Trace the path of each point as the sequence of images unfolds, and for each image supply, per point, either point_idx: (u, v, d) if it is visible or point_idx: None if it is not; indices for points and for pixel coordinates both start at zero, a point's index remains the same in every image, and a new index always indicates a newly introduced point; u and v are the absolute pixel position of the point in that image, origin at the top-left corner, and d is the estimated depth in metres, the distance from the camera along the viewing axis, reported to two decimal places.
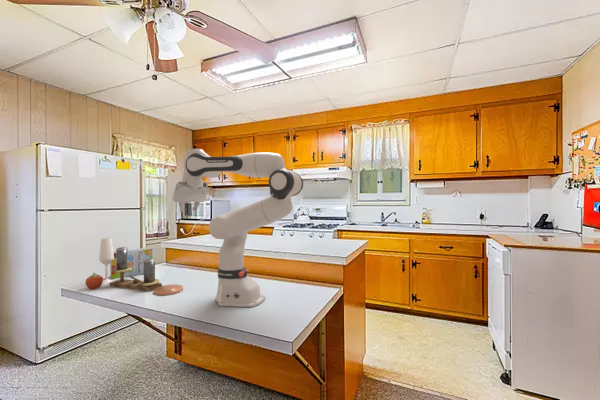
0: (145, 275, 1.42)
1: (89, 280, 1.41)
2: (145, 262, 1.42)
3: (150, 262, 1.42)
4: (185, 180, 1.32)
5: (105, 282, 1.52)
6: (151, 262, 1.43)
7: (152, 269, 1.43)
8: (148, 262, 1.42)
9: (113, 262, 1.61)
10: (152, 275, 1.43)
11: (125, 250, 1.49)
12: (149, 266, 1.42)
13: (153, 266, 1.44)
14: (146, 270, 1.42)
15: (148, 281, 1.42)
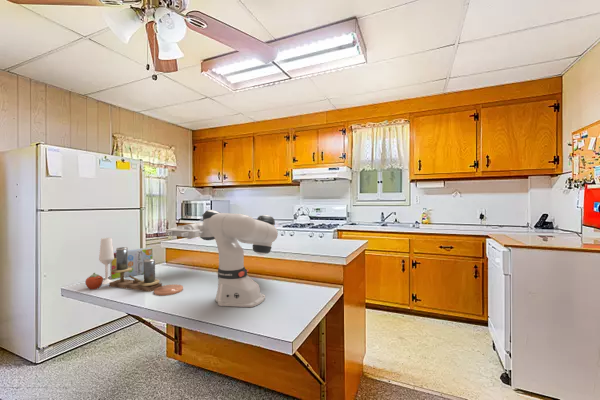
0: (145, 275, 1.42)
1: (89, 280, 1.41)
2: (145, 262, 1.42)
3: (150, 262, 1.42)
4: None
5: (105, 282, 1.52)
6: (151, 262, 1.43)
7: (152, 269, 1.43)
8: (148, 262, 1.42)
9: (113, 262, 1.61)
10: (152, 275, 1.43)
11: (125, 250, 1.49)
12: (149, 266, 1.42)
13: (153, 266, 1.44)
14: (146, 270, 1.42)
15: (148, 281, 1.42)
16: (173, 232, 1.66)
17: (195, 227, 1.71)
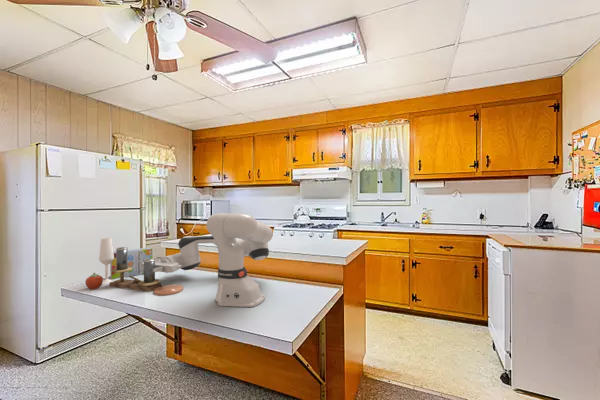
0: (145, 275, 1.42)
1: (89, 280, 1.41)
2: (145, 262, 1.42)
3: (150, 262, 1.42)
4: None
5: (105, 282, 1.52)
6: (151, 262, 1.43)
7: None
8: (148, 262, 1.42)
9: (113, 262, 1.61)
10: (152, 275, 1.43)
11: (125, 250, 1.49)
12: (149, 266, 1.42)
13: (153, 266, 1.44)
14: (146, 270, 1.42)
15: (148, 281, 1.42)
16: None
17: (173, 260, 1.56)
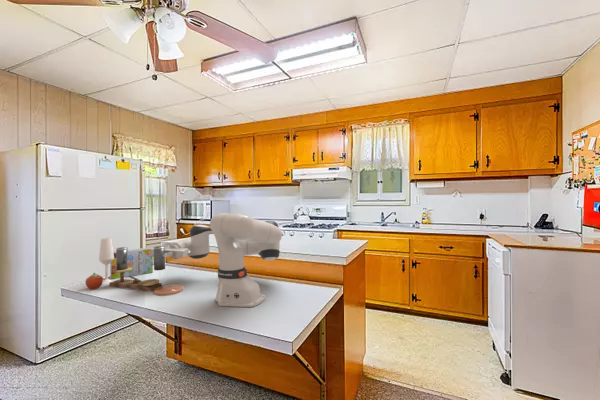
0: (155, 262, 1.40)
1: (89, 280, 1.41)
2: (155, 249, 1.39)
3: (160, 249, 1.40)
4: None
5: (105, 282, 1.52)
6: (161, 249, 1.40)
7: None
8: (158, 249, 1.40)
9: (113, 262, 1.61)
10: (162, 262, 1.41)
11: (125, 250, 1.49)
12: (159, 253, 1.40)
13: (163, 253, 1.41)
14: (156, 258, 1.39)
15: (158, 268, 1.40)
16: None
17: (182, 245, 1.53)
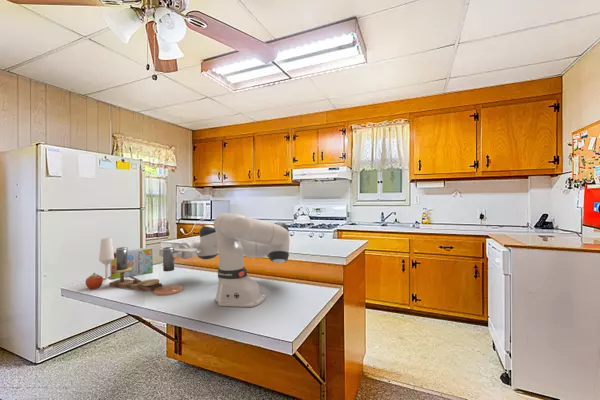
0: (165, 263, 1.38)
1: (89, 280, 1.41)
2: (165, 250, 1.38)
3: (170, 250, 1.39)
4: None
5: (105, 282, 1.52)
6: (171, 250, 1.39)
7: (172, 257, 1.40)
8: (168, 250, 1.38)
9: (113, 262, 1.61)
10: (172, 263, 1.40)
11: (125, 250, 1.49)
12: (169, 254, 1.38)
13: None
14: (165, 258, 1.38)
15: (168, 269, 1.38)
16: None
17: (192, 246, 1.52)
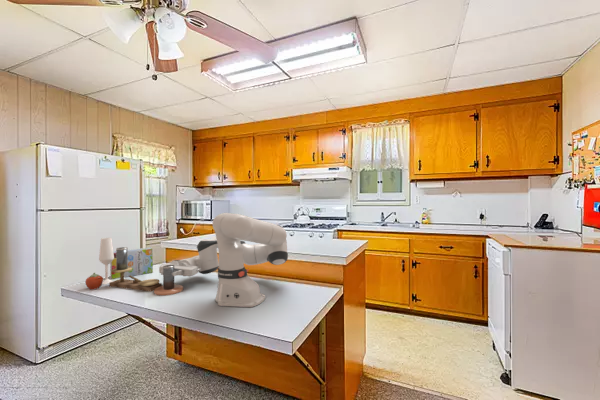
0: (165, 281, 1.39)
1: (89, 280, 1.41)
2: (165, 268, 1.39)
3: (170, 268, 1.39)
4: None
5: (105, 282, 1.52)
6: (171, 268, 1.39)
7: (172, 276, 1.40)
8: (168, 269, 1.39)
9: (113, 262, 1.61)
10: (172, 281, 1.40)
11: (125, 250, 1.49)
12: (169, 272, 1.39)
13: None
14: (165, 277, 1.38)
15: (168, 288, 1.39)
16: None
17: (192, 263, 1.52)
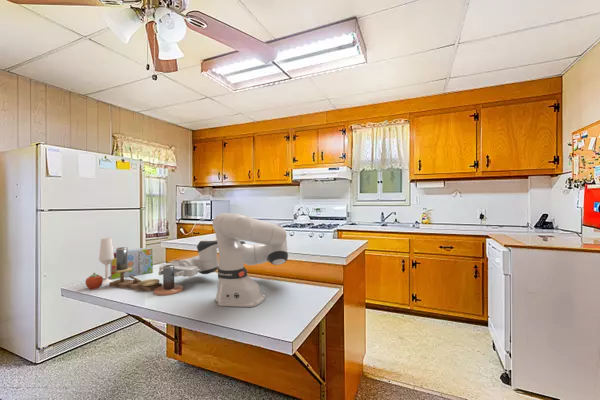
0: (165, 282, 1.39)
1: (89, 280, 1.41)
2: (165, 268, 1.39)
3: (170, 268, 1.39)
4: None
5: (105, 282, 1.52)
6: (171, 268, 1.39)
7: (172, 276, 1.40)
8: (168, 269, 1.39)
9: (113, 262, 1.61)
10: (172, 281, 1.40)
11: (125, 250, 1.49)
12: (169, 272, 1.39)
13: (173, 272, 1.40)
14: (165, 277, 1.38)
15: (168, 288, 1.39)
16: None
17: (192, 263, 1.52)
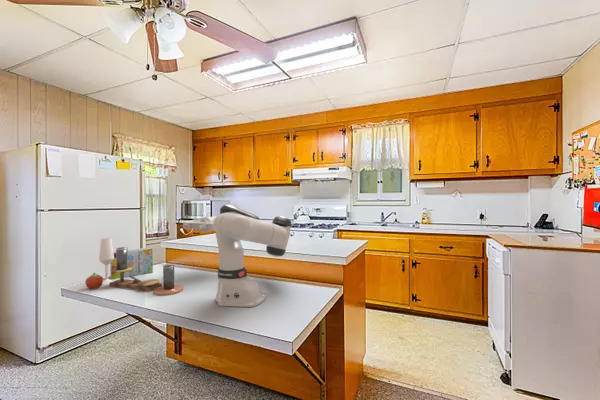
0: (165, 282, 1.39)
1: (89, 280, 1.41)
2: (165, 268, 1.39)
3: (170, 268, 1.39)
4: None
5: (105, 282, 1.52)
6: (171, 268, 1.39)
7: (172, 276, 1.40)
8: (168, 269, 1.39)
9: (113, 262, 1.61)
10: (172, 281, 1.40)
11: (125, 250, 1.49)
12: (169, 272, 1.39)
13: (173, 272, 1.40)
14: (165, 277, 1.38)
15: (168, 288, 1.39)
16: (190, 225, 1.63)
17: (212, 220, 1.69)
